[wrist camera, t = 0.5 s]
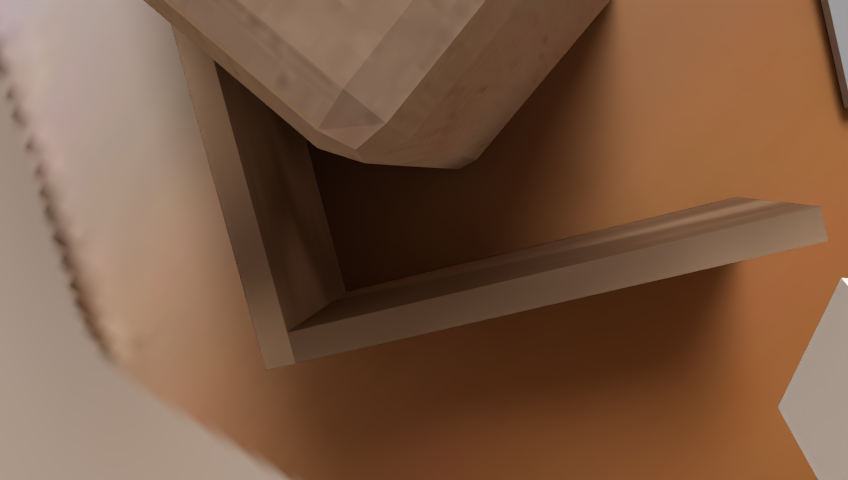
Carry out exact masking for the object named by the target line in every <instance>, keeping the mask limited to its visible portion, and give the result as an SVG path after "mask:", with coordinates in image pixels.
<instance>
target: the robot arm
mask: <svg viewBox="0 0 848 480" xmlns="http://www.w3.org/2000/svg"><path fill="white" fill-rule="evenodd" d="M778 409H779V411H780V413H781V414H782V416H783V418H784V420H785V421H786V423H787V425H788V427H789V429H790V430H791V432H792V434H793V436H794V438H795V439H796V441H797V443H798V445H799V446H800V448H801V450H802V452H803V454H804V455H805V457H806V459H807V461H808V463H809V464H810V466H811V468H812V470H813V471H814V473H815V475H816V477H817V479H818V480H848V278H841V279H840V281H839V283H838V285H837V288H836V290H835V292H834V294H833V296H832V298H831V300H830V302H829V304H828V306H827V308H826V310H825V312H824V314H823V316H822V318H821V320H820V322H819V324H818V326H817V328H816V330H815V333H814V335H813V337H812V339H811V341H810V343H809V345H808V347H807V349H806V351H805V353H804V355H803V357H802V359H801V361H800V363H799V365H798V367H797V369H796V371H795V373H794V376H793V378H792V380H791V382H790V384H789V386H788V388H787V390H786V392H785V394H784V396H783V398H782V400H781V402H780V404H779V406H778Z"/></svg>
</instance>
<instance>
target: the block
mask: <svg viewBox="0 0 848 480" xmlns="http://www.w3.org/2000/svg"><path fill="white" fill-rule="evenodd" d="M144 1H145V2H146V3H148V4H149V5H150V6H151V7H152V8H153V9H155V10H156V11H157V12H158V13H159V14H161V15H162V16H163V17H164V18H165V19H166V20H168V21H169V22H170V23H171V24H172V25H173V26H175V27H176V28H177V29H178V30H179V31H180V32H182V33H183V34H184V35H185V36H186V37H188V38H189V39H190V40H191V41H192V42H193V43H195V44H196V45H197V46H198V47H199V48H200V49H202V50H203V51H204V52H205V53H206V54H208V55H209V56H210V57H211V58H212V59H213V60H215V61H216V62H217V63H218V64H219V65H220V66H222V67H223V68H224V69H225V70H226V71H227V72H229V73H230V74H231V75H232V76H233V77H235V78H236V79H237V80H238V81H239V82H240V83H242V84H243V85H244V86H245V87H246V88H247V89H249V90H250V91H251V92H252V93H253V94H255V95H256V96H257V97H258V98H259V99H260V100H262V101H263V102H264V103H265V104H266V105H267V106H269V107H270V108H271V109H272V110H273V111H275V112H276V113H277V114H278V115H279V116H280V117H282V118H283V119H284V120H285V121H286V122H287V123H289V124H290V125H291V126H292V127H293V128H294V129H296V130H297V131H298V132H299V133H300V134H302V135H303V136H304V137H305V138H306V139H307V140H309V141H310V142H311V143H312V144H313V145H314V146H316V147H317V148H319V149H322V150H325V151H328V152H331V153H334V154H338V155H341V156H344V157H347V158H350V159H353V160H356V161H360V162H363V163H369V164H384V165H400V166H415V167H431V168H446V169H460V168H462V167H464V166H466V165H468V164H470V163H472V162H474V161H476V160H477V159H478V157H479V156H480V155H481V154H482V153H483V151H484V150H485V149H486V148H487V147H488V145H489V144H490V143H491V142H492V141H493V140H494V138H495V137H496V136H497V135H498V134H499V132H500V131H501V130H502V129H503V128H504V126H505V125H506V124H507V123H508V122H509V120H510V119H511V118H512V117H513V116H514V114H515V113H516V112H517V111H518V110H519V108H520V107H521V106H522V105H523V104H524V102H525V101H526V100H527V99H528V98H529V97H530V95H531V94H532V93H533V92H534V91H535V89H536V88H537V87H538V86H539V85H540V83H541V82H542V81H543V80H544V79H545V77H546V76H547V75H548V74H549V73H550V71H551V70H552V69H553V68H554V67H555V65H556V64H557V63H558V62H559V61H560V59H561V58H562V57H563V56H564V55H565V54H566V52H567V51H568V50H569V49H570V48H571V46H572V45H573V44H574V43H575V42H576V40H577V39H578V38H579V37H580V36H581V34H582V33H583V32H584V31H585V30H586V28H587V27H588V26H589V25H590V24H591V22H592V21H593V20H594V19H595V18H596V16H597V15H598V14H599V13H600V12H601V11H602V9H603V8H604V7H605V6H606V5H607V3H608V2H609V1H610V0H144Z"/></svg>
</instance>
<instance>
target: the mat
mask: <svg viewBox="0 0 848 480" xmlns="http://www.w3.org/2000/svg"><path fill="white" fill-rule="evenodd" d="M821 4H822V9H823V13H824V18H825V22H826V27H827V31H828V36H829V40H830V45H831V49H832V54H833V58H834V63H835V67H836V72H837V76H838V81H839V85H840V90H841V94H842V99H843V103H844V108H848V0H821Z"/></svg>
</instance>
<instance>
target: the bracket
mask: <svg viewBox="0 0 848 480" xmlns="http://www.w3.org/2000/svg"><path fill="white" fill-rule="evenodd" d="M171 25H172V24H171ZM172 29H173V33H174V36H175V40H176V44H177V47H178V51H179V55H180V58H181V62H182V66H183V69H184V73H185V77H186V80H187V84H188V88H189V91H190V95H191V99H192V102H193V106H194V110H195V113H196V117H197V121H198V124H199V128H200V132H201V135H202V139H203V143H204V146H205V150H206V154H207V157H208V161H209V165H210V168H211V172H212V176H213V179H214V183H215V187H216V190H217V194H218V198H219V201H220V205H221V209H222V212H223V216H224V220H225V223H226V227H227V231H228V234H229V238H230V242H231V245H232V249H233V253H234V256H235V260H236V263H237V267H238V271H239V274H240V278H241V282H242V285H243V289H244V293H245V296H246V300H247V304H248V307H249V311H250V315H251V318H252V322H253V326H254V329H255V333H256V337H257V340H258V344H259V348H260V351H261V355H262V359H263V362H264V366H265V370H270V369H274V368H278V367H283V366H287V365H291V364H296V363H300V362H304V361H309V360H313V359H317V358H322V357H326V356H331V355H335V354H339V353H344V352H348V351H352V350H357V349H361V348H365V347H370V346H374V345H378V344H383V343H387V342H391V341H396V340H400V339H404V338H409V337H413V336H417V335H422V334H426V333H430V332H435V331H439V330H443V329H448V328H452V327H456V326H461V325H465V324H469V323H474V322H478V321H483V320H487V319H491V318H496V317H500V316H504V315H509V314H513V313H517V312H522V311H526V310H530V309H535V308H539V307H543V306H548V305H552V304H556V303H561V302H565V301H569V300H574V299H578V298H582V297H587V296H591V295H595V294H600V293H604V292H608V291H613V290H617V289H622V288H626V287H630V286H635V285H639V284H643V283H648V282H652V281H656V280H661V279H665V278H669V277H674V276H678V275H682V274H687V273H691V272H695V271H700V270H704V269H708V268H713V267H717V266H721V265H726V264H730V263H734V262H739V261H743V260H747V259H752V258H756V257H761V256H765V255H769V254H774V253H778V252H782V251H787V250H791V249H795V248H800V247H804V246H808V245H813V244H817V243H821V242H826V241H828V238H827V234H826V229H825V225H824V220H823V216H822V212H821V207H820V206H812V205H803V204H794V203H784V202H775V201H766V200H757V199H748V198H739V197H735V198H731V199H727V200H723V201H719V202H715V203H711V204H707V205H702V206H698V207H694V208H690V209H686V210H682V211H678V212H674V213H669V214H665V215H661V216H657V217H653V218H649V219H645V220H641V221H636V222H632V223H628V224H624V225H620V226H616V227H612V228H608V229H603V230H599V231H595V232H591V233H587V234H583V235H579V236H575V237H570V238H566V239H562V240H558V241H554V242H550V243H546V244H542V245H537V246H533V247H529V248H525V249H521V250H517V251H513V252H509V253H504V254H500V255H496V256H492V257H488V258H484V259H480V260H476V261H471V262H467V263H463V264H459V265H455V266H451V267H447V268H443V269H439V270H434V271H430V272H426V273H422V274H418V275H414V276H410V277H406V278H401V279H397V280H393V281H389V282H385V283H381V284H377V285H373V286H368V287H364V288H360V289H356V290H352V291H348V292H346V290H345V286H344V282H343V279H342V275H341V271H340V267H339V263H338V260H337V256H336V252H335V248H334V245H333V241H332V237H331V233H330V230H329V226H328V222H327V218H326V214H325V211H324V207H323V203H322V199H321V196H320V192H319V188H318V184H317V180H316V177H315V173H314V169H313V165H312V162H311V158H310V154H309V150H308V147H307V143H306V139H305V137H304V136H303V135H302V134H300V133H299V132H298V131H297V130H296V129H294V128H293V127H292V126H291V125H290V124H289V123H287V122H286V121H285V120H284V119H283V118H282V117H280V116H279V115H278V114H277V113H276V112H275V111H273V110H272V109H271V108H270V107H269V106H267V105H266V104H265V103H264V102H263V101H262V100H260V99H259V98H258V97H257V96H256V95H255V94H253V93H252V92H251V91H250V90H249V89H247V88H246V87H245V86H244V85H243V84H242V83H240V82H239V81H238V80H237V79H236V78H235V77H233V76H232V75H231V74H230V73H229V72H227V71H226V70H225V69H224V68H223V67H222V66H220V65H219V64H218V63H217V62H216V61H215V60H213V59H212V58H211V57H210V56H209V55H208V54H206V53H205V52H204V51H203V50H202V49H200V48H199V47H198V46H197V45H196V44H195V43H193V42H192V41H191V40H190V39H189V38H188V37H186V36H185V35H184V34H183V33H182V32H180V31H179V30H178V29H177V28H176V27H175V26H173V25H172Z"/></svg>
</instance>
